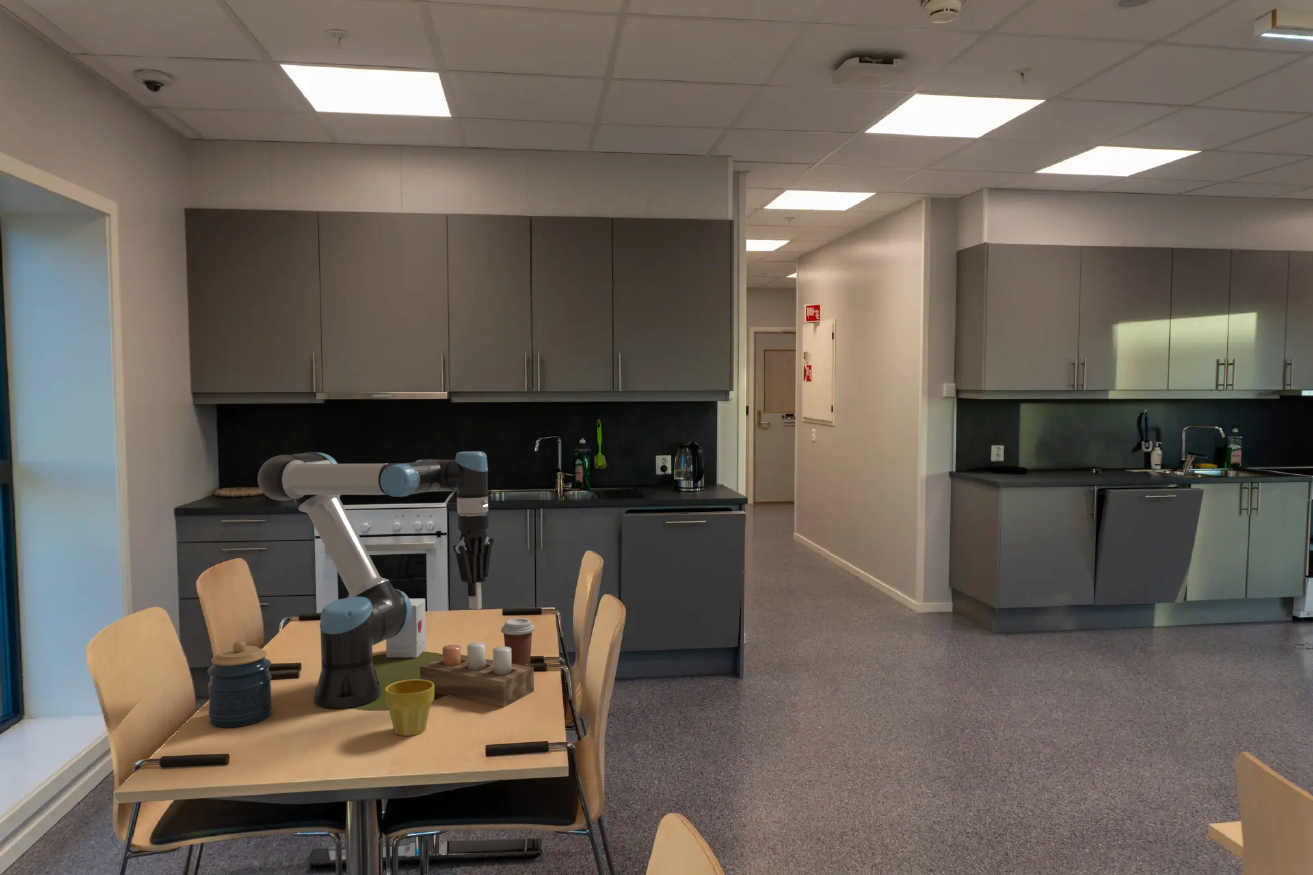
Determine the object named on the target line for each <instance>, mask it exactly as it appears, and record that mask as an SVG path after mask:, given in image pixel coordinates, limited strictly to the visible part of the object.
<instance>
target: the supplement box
mask: <svg viewBox="0 0 1313 875" xmlns="http://www.w3.org/2000/svg"><path fill="white" fill-rule="evenodd" d="M409 600H410V602H411V606H412V616H411V618H410V622H409V624H408V626H407V627H406V628H405V629H404V630H403V631H402V632H400V633H398V634H397V635H395V636H394V637H392V638H388V639H386V640H385V641H386V642H385V645H386V646H385V651H386V653H385V654H386V656H385V657H386V658H401V659H402V658H410V659H411V658H414V659H415V658H416V659H417V658H418V657H419V656H420V655H421V654H423V652H424V651H425V650H426V649H427V645H426V644H427V643H426V642H427V637H426V636H427V632H426V631H427V630H426V629H427V628H426V626H427V625H426V598H409Z"/></svg>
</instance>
